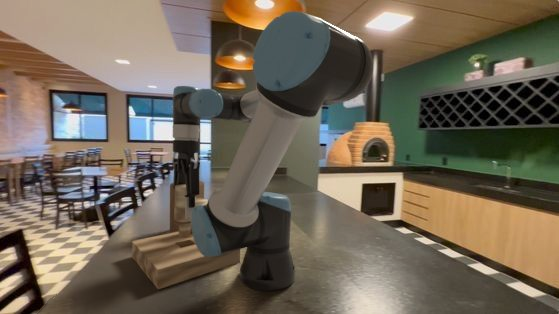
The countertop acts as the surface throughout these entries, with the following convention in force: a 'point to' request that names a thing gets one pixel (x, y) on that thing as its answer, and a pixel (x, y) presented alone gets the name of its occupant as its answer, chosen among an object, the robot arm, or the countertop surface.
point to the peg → (181, 211)
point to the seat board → (176, 257)
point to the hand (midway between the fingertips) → (185, 215)
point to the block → (174, 226)
